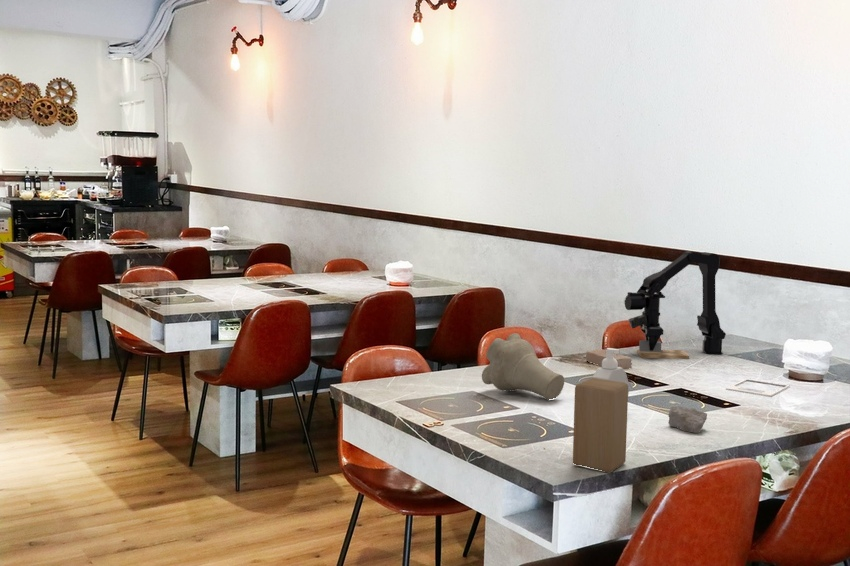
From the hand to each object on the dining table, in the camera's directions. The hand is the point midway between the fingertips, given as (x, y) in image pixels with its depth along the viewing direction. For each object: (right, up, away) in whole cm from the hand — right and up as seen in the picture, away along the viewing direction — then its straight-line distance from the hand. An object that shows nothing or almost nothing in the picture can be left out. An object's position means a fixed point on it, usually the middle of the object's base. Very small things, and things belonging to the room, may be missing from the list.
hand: (650, 349), depth 346 cm
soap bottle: (-35, -13, -90) cm, 97 cm away
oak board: (+5, -2, 0) cm, 5 cm away
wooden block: (-46, -18, -133) cm, 142 cm away
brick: (-20, -5, -19) cm, 28 cm away
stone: (-15, -15, -101) cm, 103 cm away
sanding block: (0, -1, 0) cm, 1 cm away
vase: (-56, -10, -66) cm, 87 cm away
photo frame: (+22, -10, -53) cm, 58 cm away
